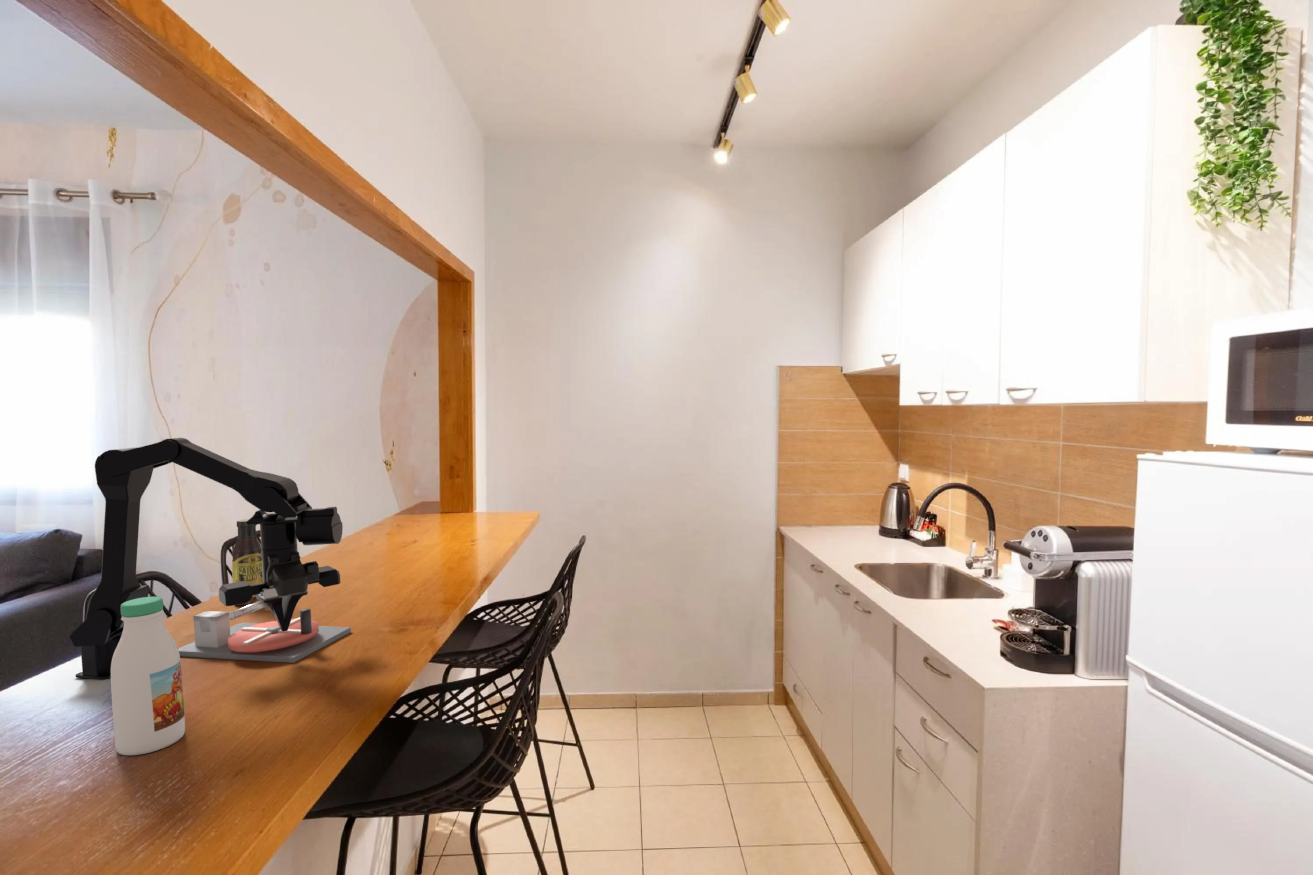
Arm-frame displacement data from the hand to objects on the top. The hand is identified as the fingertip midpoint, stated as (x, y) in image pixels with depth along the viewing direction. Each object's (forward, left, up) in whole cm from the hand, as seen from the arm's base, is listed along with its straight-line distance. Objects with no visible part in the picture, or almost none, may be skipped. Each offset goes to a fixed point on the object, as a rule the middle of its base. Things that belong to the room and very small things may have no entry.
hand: (284, 630), depth 121 cm
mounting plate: (+6, +10, -5) cm, 12 cm away
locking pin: (+13, +18, -2) cm, 22 cm away
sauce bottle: (+30, +36, -5) cm, 47 cm away
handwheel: (+4, +6, -3) cm, 7 cm away
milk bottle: (-30, -4, -5) cm, 31 cm away
